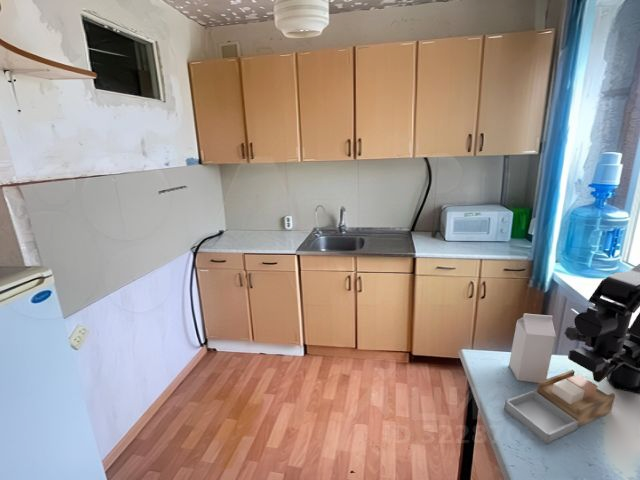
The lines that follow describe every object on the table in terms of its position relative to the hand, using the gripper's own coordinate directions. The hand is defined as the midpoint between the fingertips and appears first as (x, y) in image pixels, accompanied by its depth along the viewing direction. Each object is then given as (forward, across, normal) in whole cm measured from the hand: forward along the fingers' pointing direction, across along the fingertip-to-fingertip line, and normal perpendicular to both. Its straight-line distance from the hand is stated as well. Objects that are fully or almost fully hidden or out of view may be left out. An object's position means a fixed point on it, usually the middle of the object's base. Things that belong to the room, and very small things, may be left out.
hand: (596, 381), depth 86 cm
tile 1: (+1, +11, 0) cm, 11 cm away
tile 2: (+1, +6, 0) cm, 7 cm away
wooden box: (+5, +8, 0) cm, 10 cm away
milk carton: (+5, +8, -13) cm, 16 cm away
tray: (+5, +20, 0) cm, 21 cm away
